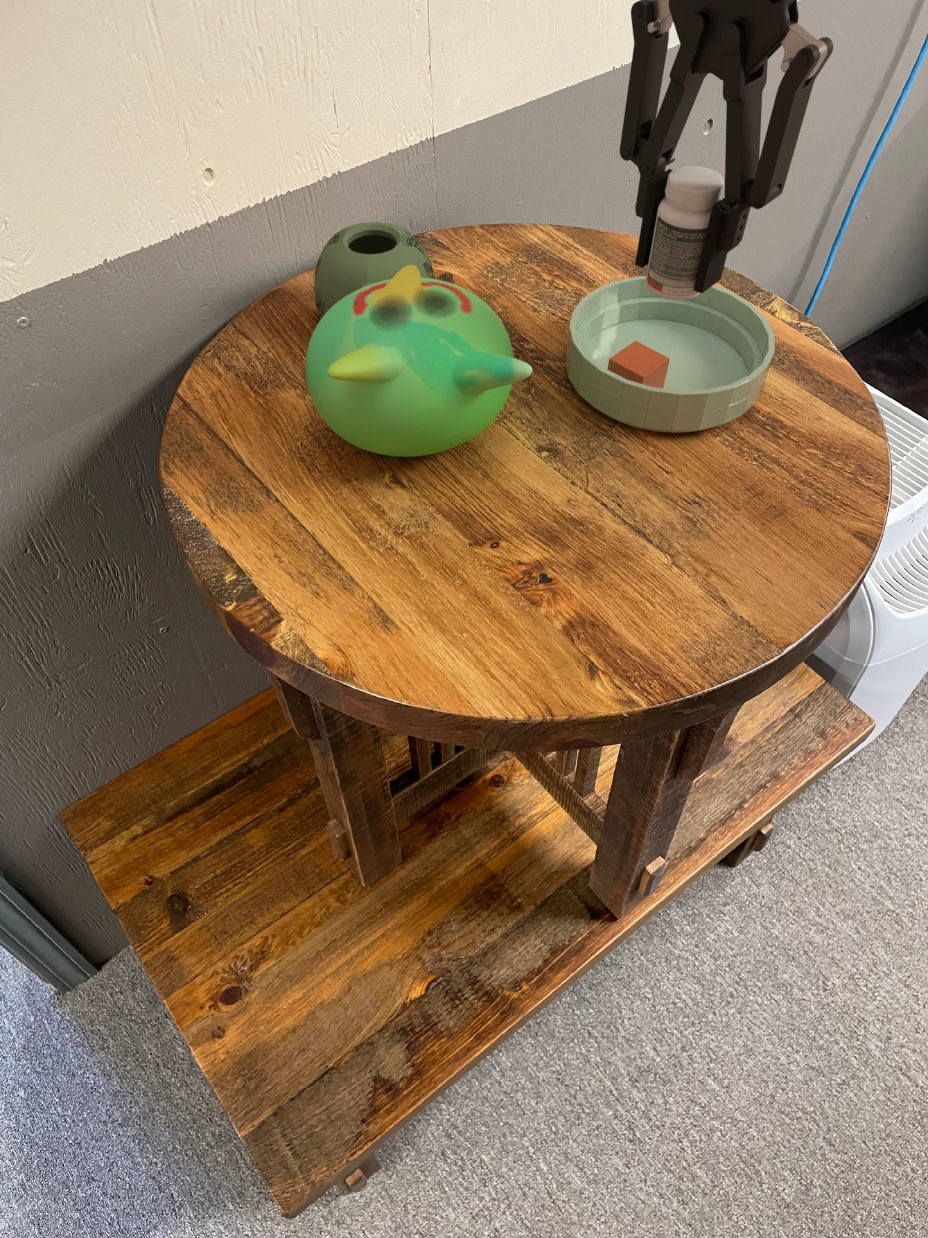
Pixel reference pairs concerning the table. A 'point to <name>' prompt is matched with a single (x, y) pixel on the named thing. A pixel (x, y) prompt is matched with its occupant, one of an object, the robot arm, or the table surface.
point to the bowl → (670, 355)
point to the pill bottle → (682, 231)
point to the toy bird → (410, 366)
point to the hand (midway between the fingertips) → (677, 271)
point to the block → (640, 365)
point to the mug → (365, 260)
